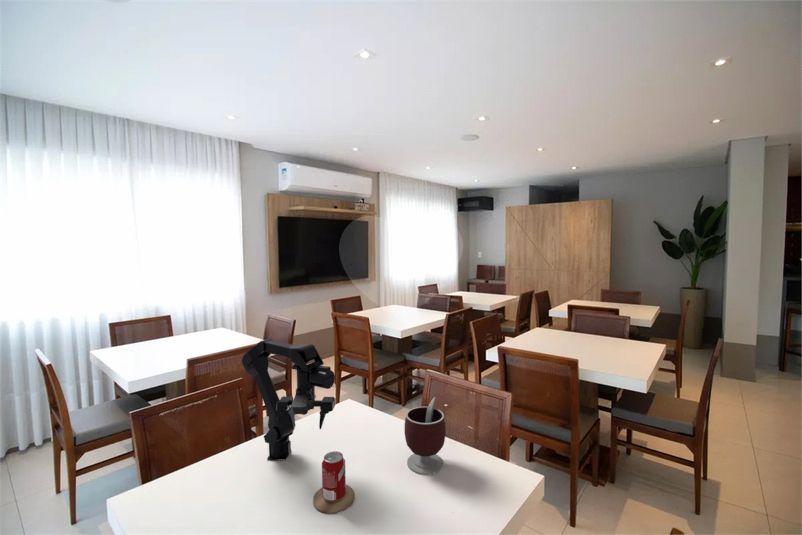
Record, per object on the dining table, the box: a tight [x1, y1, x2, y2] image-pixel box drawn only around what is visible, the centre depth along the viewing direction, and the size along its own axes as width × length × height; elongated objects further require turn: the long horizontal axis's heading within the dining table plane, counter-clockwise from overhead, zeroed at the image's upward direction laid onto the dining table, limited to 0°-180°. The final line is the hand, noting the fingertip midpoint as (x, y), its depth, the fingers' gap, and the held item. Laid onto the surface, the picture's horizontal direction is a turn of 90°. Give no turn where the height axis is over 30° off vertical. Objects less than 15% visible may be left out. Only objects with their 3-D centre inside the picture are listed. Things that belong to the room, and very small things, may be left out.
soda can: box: [321, 450, 347, 502], centre depth 108 cm, size 7×7×12 cm
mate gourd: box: [404, 396, 447, 476], centre depth 126 cm, size 16×14×20 cm
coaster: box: [312, 484, 356, 515], centre depth 108 cm, size 12×12×1 cm
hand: (306, 428), depth 124 cm, fingers open, 9 cm apart
